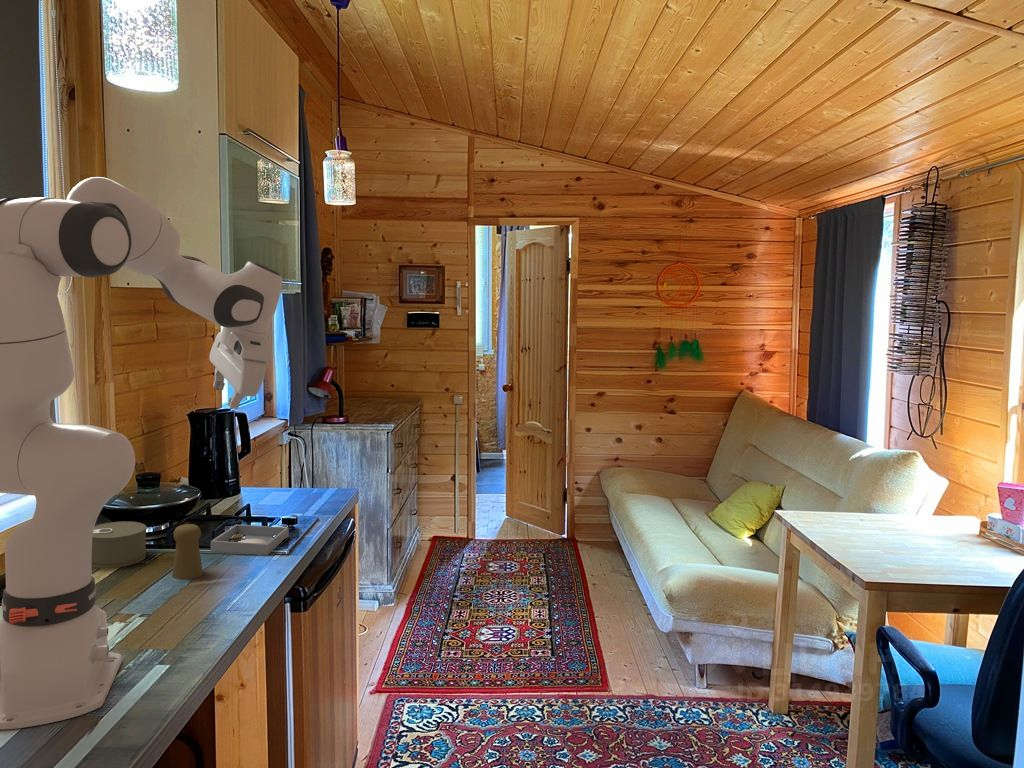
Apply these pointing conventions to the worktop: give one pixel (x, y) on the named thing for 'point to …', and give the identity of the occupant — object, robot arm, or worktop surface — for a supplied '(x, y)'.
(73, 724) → the worktop surface
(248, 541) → the resting spot
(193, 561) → the cork
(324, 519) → the worktop surface
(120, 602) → the worktop surface
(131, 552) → the can
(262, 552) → the tray
